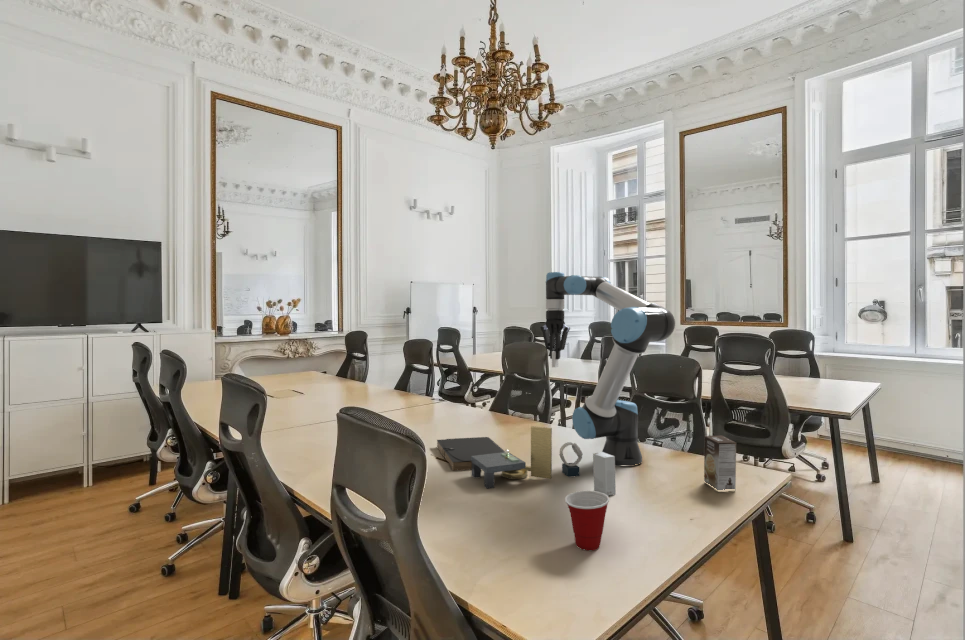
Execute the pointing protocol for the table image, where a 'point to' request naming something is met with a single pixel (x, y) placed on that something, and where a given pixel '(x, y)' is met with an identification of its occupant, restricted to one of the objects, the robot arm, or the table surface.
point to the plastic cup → (587, 517)
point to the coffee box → (720, 462)
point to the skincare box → (604, 473)
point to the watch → (571, 468)
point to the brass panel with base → (537, 456)
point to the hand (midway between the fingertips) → (555, 366)
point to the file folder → (466, 450)
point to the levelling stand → (494, 465)
